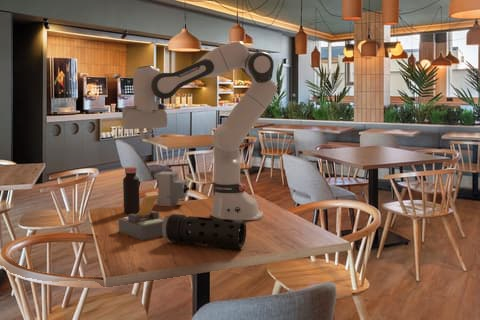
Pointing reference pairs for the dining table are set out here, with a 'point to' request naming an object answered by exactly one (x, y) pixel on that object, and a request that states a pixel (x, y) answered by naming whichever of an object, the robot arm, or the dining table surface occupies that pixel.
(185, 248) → the dining table surface
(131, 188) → the bottle
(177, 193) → the circuit breaker
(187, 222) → the muzzle brake
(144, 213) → the lever
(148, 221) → the panel
